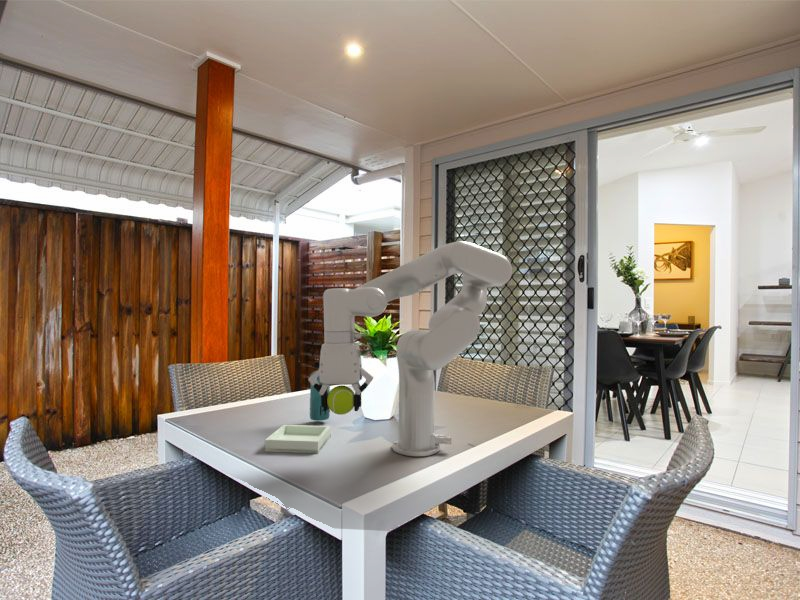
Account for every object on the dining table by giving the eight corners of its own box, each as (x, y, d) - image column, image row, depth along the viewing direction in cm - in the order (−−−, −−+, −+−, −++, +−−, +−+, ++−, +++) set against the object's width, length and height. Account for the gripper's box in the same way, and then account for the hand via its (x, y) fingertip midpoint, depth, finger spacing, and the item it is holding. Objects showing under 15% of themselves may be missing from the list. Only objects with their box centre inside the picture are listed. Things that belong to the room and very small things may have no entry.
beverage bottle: (318, 426, 134) (319, 362, 134) (304, 423, 138) (305, 360, 138) (334, 422, 139) (334, 360, 139) (320, 418, 143) (320, 358, 143)
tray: (330, 436, 124) (330, 426, 124) (317, 453, 110) (318, 441, 110) (283, 435, 125) (283, 424, 125) (264, 451, 111) (265, 439, 111)
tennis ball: (325, 412, 108) (324, 384, 108) (352, 409, 111) (351, 382, 110) (330, 419, 102) (329, 389, 102) (358, 416, 104) (358, 387, 104)
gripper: (376, 336, 109) (378, 405, 109) (309, 337, 110) (311, 406, 110) (372, 339, 102) (374, 413, 102) (300, 340, 103) (302, 414, 103)
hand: (341, 409), depth 106 cm, fingers closed on tennis ball, 7 cm apart
